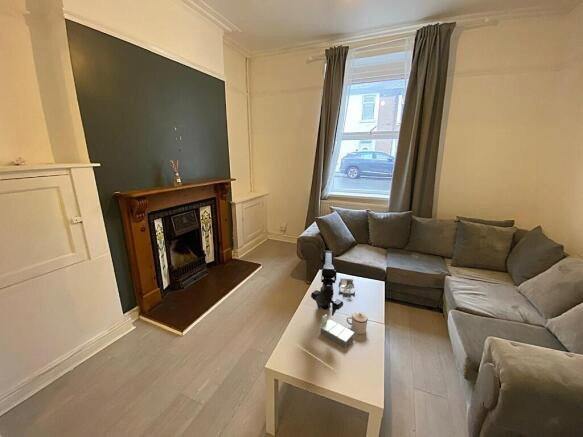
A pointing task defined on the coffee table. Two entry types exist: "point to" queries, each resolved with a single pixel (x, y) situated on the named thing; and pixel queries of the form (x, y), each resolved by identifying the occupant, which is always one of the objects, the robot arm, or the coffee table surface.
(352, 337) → the tub
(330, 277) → the robot arm
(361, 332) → the teacup with lid
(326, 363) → the coffee table surface
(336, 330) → the lid
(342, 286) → the toy rover
